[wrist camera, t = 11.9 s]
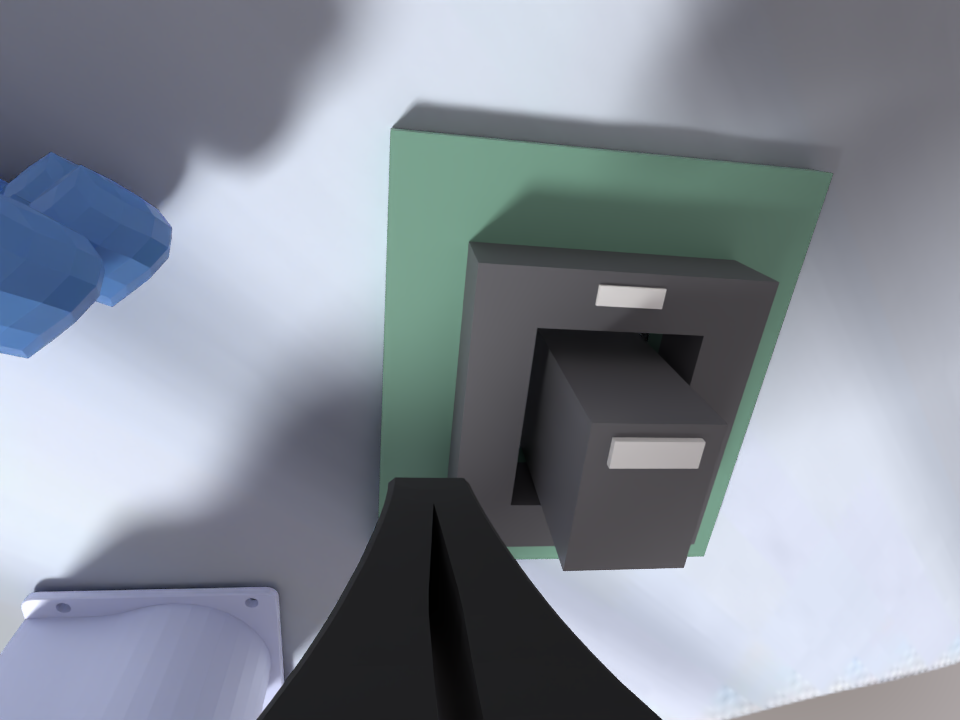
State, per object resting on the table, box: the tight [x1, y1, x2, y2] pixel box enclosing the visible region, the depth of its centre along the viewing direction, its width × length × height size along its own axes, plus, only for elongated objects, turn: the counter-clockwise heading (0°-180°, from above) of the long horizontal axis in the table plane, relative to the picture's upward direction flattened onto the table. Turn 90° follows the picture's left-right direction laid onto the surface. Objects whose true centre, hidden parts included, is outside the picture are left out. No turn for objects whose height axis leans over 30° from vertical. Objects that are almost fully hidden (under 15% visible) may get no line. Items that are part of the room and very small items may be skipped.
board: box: [378, 128, 833, 559], centre depth 20 cm, size 14×16×4 cm
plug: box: [520, 328, 728, 571], centre depth 18 cm, size 4×5×7 cm
